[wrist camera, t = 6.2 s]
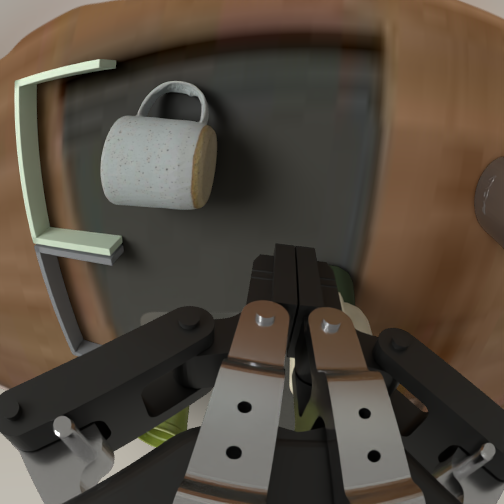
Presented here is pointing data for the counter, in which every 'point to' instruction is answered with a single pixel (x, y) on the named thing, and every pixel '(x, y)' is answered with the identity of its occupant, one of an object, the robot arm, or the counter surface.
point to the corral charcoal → (59, 293)
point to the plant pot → (167, 429)
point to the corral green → (32, 168)
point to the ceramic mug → (160, 157)
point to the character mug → (344, 307)
